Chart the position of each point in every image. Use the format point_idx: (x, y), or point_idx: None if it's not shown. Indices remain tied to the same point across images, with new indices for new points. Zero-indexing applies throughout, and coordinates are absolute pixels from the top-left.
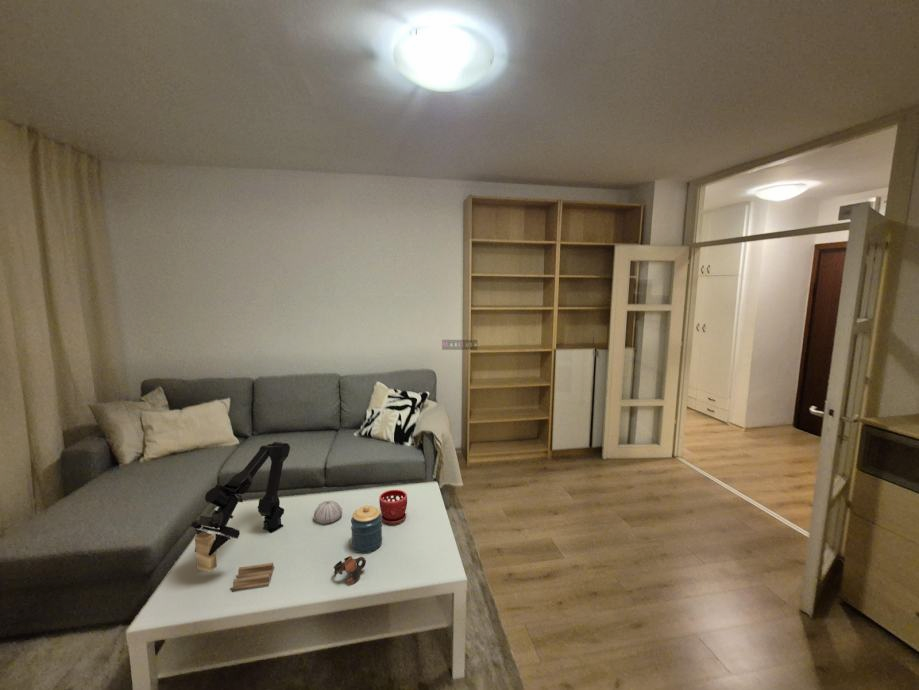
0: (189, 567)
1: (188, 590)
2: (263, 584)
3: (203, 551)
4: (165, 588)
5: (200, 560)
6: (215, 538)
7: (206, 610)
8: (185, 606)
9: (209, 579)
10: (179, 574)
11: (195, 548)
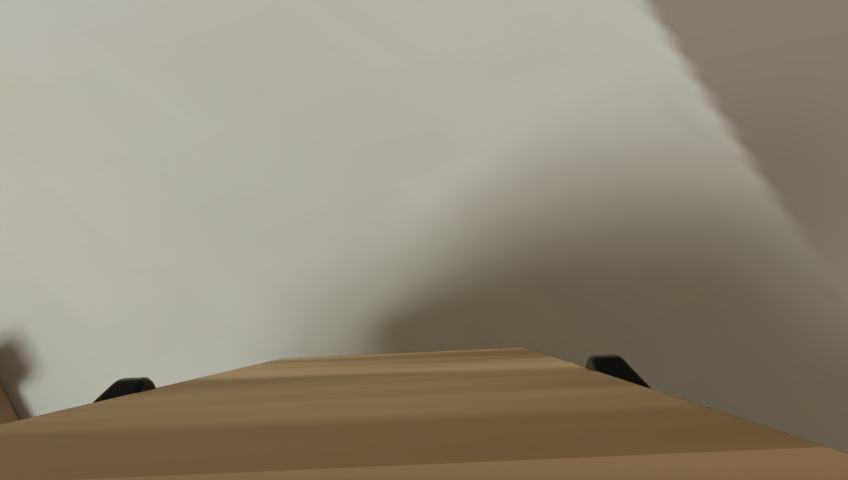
0: None
1: (447, 181)
2: None
3: (304, 388)
4: (714, 117)
5: (447, 359)
6: None
7: (27, 54)
8: (268, 20)
9: None
10: (801, 328)
11: None
